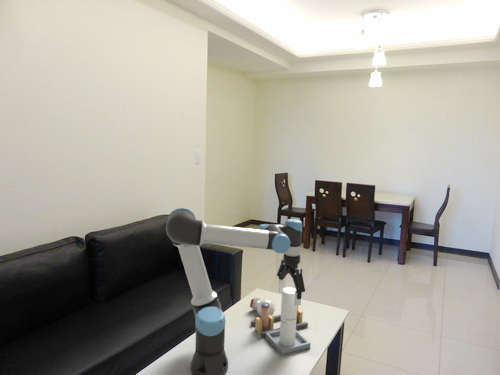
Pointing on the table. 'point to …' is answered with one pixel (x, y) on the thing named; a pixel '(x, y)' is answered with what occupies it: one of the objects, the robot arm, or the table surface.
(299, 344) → the tray
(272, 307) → the potion bottle
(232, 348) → the table surface
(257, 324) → the fuse holder
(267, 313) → the cylinder
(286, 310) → the cylindrical container
